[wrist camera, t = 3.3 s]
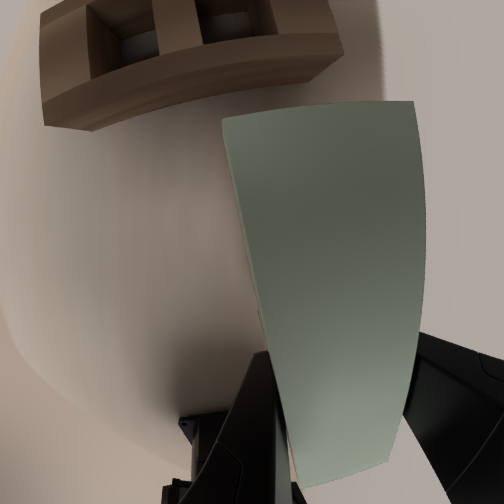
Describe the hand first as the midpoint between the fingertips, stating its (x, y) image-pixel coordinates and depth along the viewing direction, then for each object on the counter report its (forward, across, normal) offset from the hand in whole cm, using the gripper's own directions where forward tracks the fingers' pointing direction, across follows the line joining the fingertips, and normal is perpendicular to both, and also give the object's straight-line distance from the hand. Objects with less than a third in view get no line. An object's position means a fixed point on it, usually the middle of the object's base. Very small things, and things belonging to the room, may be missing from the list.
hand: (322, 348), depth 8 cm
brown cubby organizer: (+9, +2, -12) cm, 15 cm away
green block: (+6, 0, -1) cm, 6 cm away
